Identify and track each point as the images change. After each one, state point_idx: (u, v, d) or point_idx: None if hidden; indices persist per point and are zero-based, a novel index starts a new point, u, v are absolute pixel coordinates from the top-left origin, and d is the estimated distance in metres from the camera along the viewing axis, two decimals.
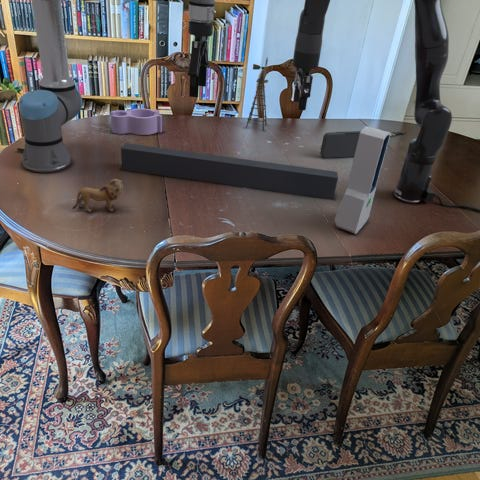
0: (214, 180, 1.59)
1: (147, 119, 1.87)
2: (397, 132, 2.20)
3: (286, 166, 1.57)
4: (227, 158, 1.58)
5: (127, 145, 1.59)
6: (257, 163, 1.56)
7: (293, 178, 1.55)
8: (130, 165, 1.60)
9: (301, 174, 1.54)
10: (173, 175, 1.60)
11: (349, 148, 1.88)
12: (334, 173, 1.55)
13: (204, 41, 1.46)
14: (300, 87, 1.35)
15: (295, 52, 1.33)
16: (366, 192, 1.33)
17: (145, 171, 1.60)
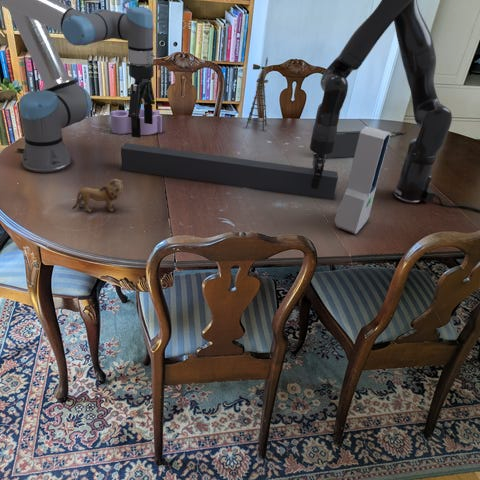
0: (214, 180, 1.59)
1: None
2: (397, 132, 2.20)
3: (286, 166, 1.57)
4: (227, 158, 1.58)
5: (127, 145, 1.59)
6: (257, 163, 1.56)
7: (293, 178, 1.55)
8: (130, 165, 1.60)
9: (301, 174, 1.54)
10: (173, 175, 1.60)
11: (349, 148, 1.88)
12: (334, 173, 1.55)
13: (146, 82, 1.48)
14: (314, 169, 1.52)
15: (312, 138, 1.48)
16: (366, 192, 1.33)
17: (145, 171, 1.60)
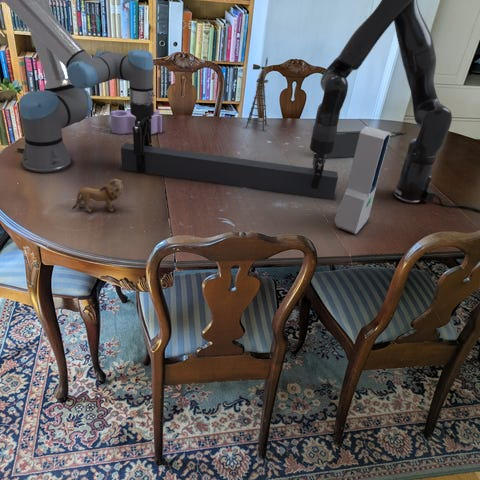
0: (214, 180, 1.59)
1: None
2: (397, 132, 2.20)
3: (286, 166, 1.57)
4: (227, 158, 1.58)
5: (127, 145, 1.59)
6: (257, 163, 1.56)
7: (293, 178, 1.55)
8: (130, 165, 1.60)
9: (301, 174, 1.54)
10: (173, 175, 1.60)
11: (349, 148, 1.88)
12: (334, 173, 1.55)
13: (146, 119, 1.54)
14: (314, 169, 1.52)
15: (312, 138, 1.48)
16: (366, 192, 1.33)
17: (145, 171, 1.60)
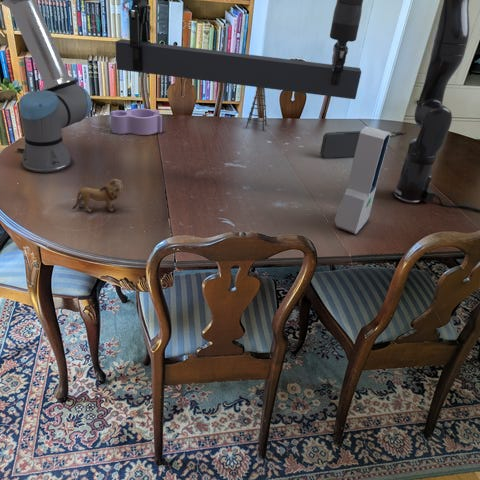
0: (220, 80, 1.41)
1: (147, 119, 1.87)
2: (397, 132, 2.20)
3: (302, 61, 1.39)
4: (235, 53, 1.40)
5: (122, 40, 1.41)
6: (269, 58, 1.38)
7: (310, 74, 1.37)
8: (126, 63, 1.42)
9: (319, 68, 1.36)
10: (175, 75, 1.42)
11: (349, 148, 1.88)
12: (357, 68, 1.37)
13: (145, 6, 1.36)
14: (334, 61, 1.34)
15: (332, 23, 1.30)
16: (366, 192, 1.33)
17: (143, 70, 1.42)
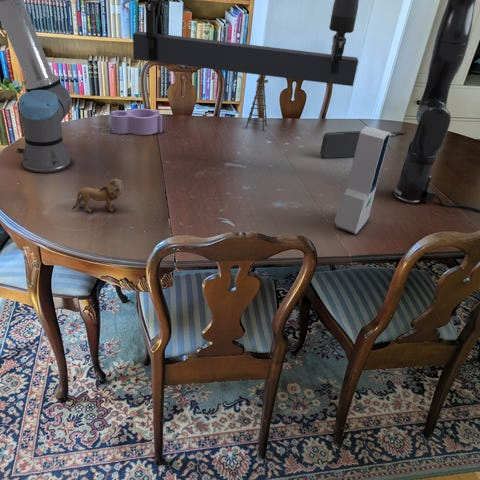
0: (229, 68, 1.54)
1: (147, 119, 1.87)
2: (397, 132, 2.20)
3: (304, 52, 1.51)
4: (243, 44, 1.52)
5: (139, 32, 1.54)
6: (274, 49, 1.51)
7: (312, 62, 1.50)
8: (142, 53, 1.54)
9: (320, 57, 1.48)
10: (187, 64, 1.54)
11: (349, 148, 1.88)
12: (354, 58, 1.50)
13: (160, 0, 1.48)
14: (333, 51, 1.46)
15: (332, 16, 1.43)
16: (366, 192, 1.33)
17: (158, 59, 1.55)
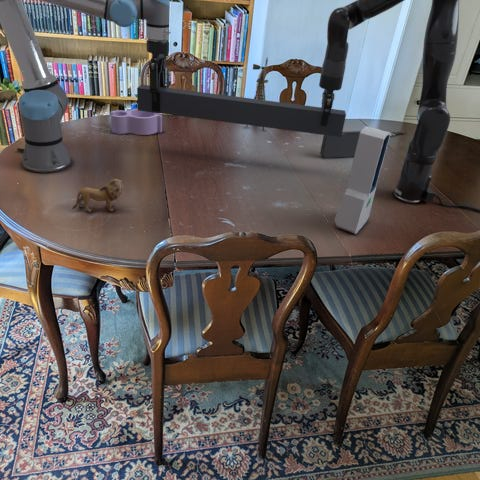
0: (226, 120, 1.65)
1: (147, 119, 1.87)
2: (397, 132, 2.20)
3: (296, 105, 1.63)
4: (239, 98, 1.64)
5: (142, 86, 1.66)
6: (268, 102, 1.63)
7: (303, 116, 1.61)
8: (146, 105, 1.66)
9: (310, 111, 1.60)
10: (187, 115, 1.66)
11: (349, 148, 1.88)
12: (342, 111, 1.62)
13: (162, 57, 1.60)
14: (323, 106, 1.58)
15: (321, 75, 1.55)
16: (366, 192, 1.33)
17: (160, 111, 1.67)
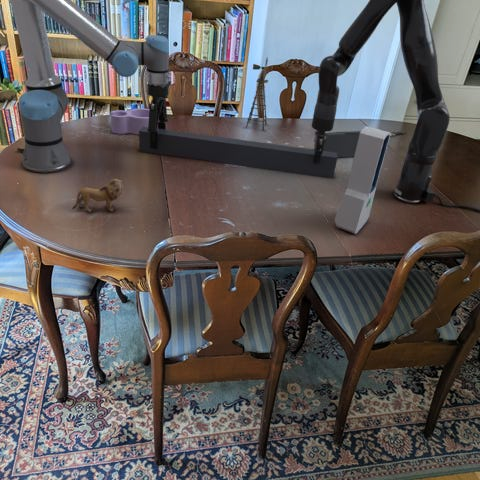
0: (224, 161, 1.74)
1: (147, 119, 1.87)
2: (397, 132, 2.20)
3: (290, 147, 1.71)
4: (236, 140, 1.72)
5: (144, 128, 1.74)
6: (263, 145, 1.71)
7: (296, 158, 1.70)
8: (147, 146, 1.74)
9: (304, 154, 1.68)
10: (187, 156, 1.74)
11: (349, 148, 1.88)
12: (334, 154, 1.70)
13: (161, 99, 1.68)
14: (315, 145, 1.65)
15: (313, 117, 1.62)
16: (366, 192, 1.33)
17: (161, 152, 1.75)
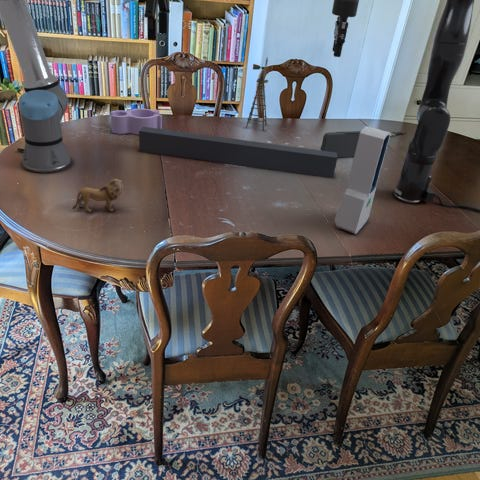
0: (224, 161, 1.74)
1: (147, 119, 1.87)
2: (397, 132, 2.20)
3: (290, 147, 1.71)
4: (236, 140, 1.72)
5: (144, 128, 1.74)
6: (263, 145, 1.71)
7: (296, 158, 1.70)
8: (147, 146, 1.74)
9: (304, 154, 1.68)
10: (187, 156, 1.74)
11: (349, 148, 1.88)
12: (334, 154, 1.70)
13: None
14: (336, 34, 1.45)
15: (334, 0, 1.43)
16: (366, 192, 1.33)
17: (161, 152, 1.75)
